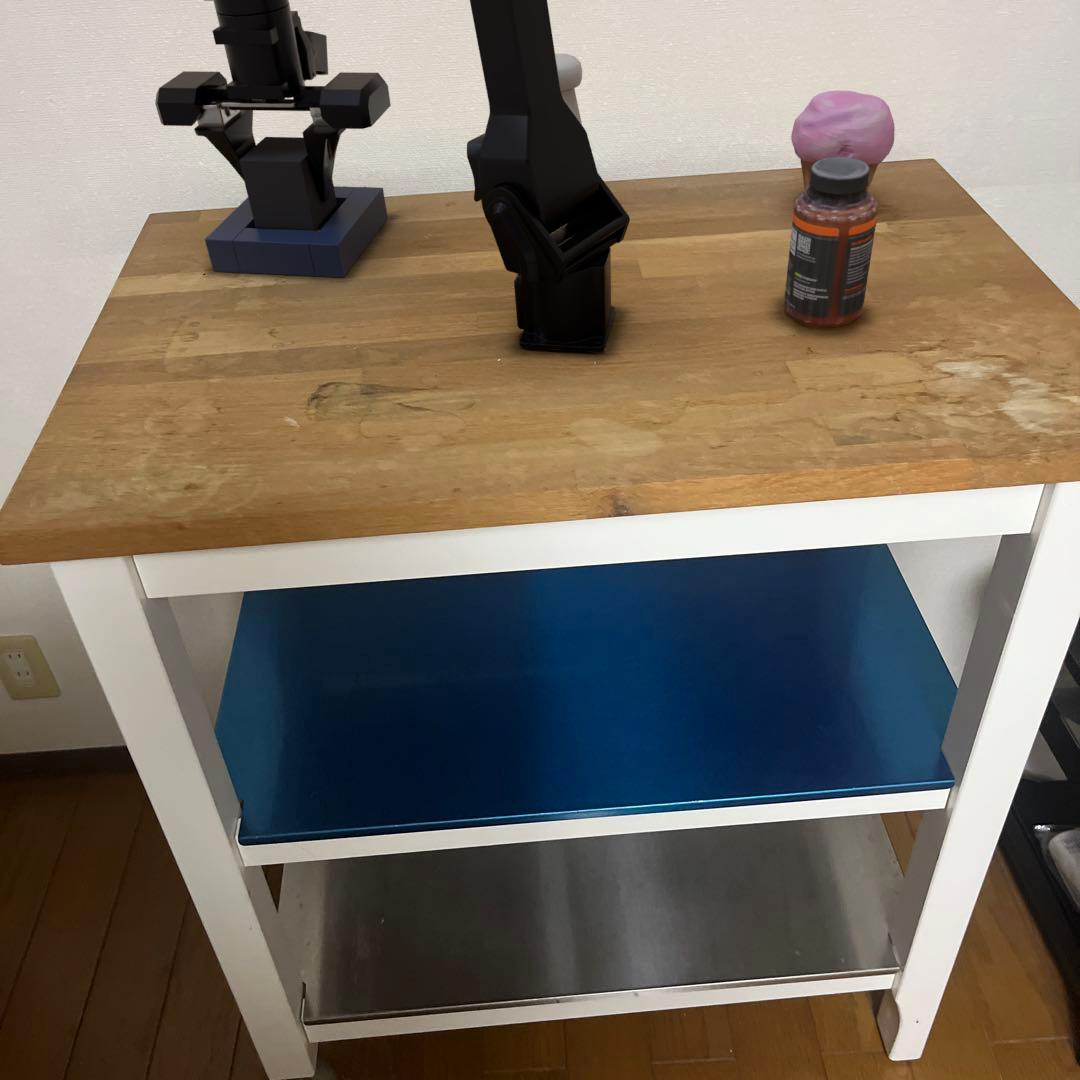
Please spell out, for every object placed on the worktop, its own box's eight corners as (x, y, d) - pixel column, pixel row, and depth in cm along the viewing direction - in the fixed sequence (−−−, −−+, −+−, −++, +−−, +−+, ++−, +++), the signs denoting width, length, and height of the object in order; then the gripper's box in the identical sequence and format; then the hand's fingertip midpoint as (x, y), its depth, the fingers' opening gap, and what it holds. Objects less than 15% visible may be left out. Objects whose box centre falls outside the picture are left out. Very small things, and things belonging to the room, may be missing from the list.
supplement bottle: (869, 300, 80) (893, 156, 73) (852, 336, 76) (877, 187, 69) (793, 288, 82) (809, 147, 75) (773, 323, 78) (788, 177, 71)
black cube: (337, 204, 94) (324, 137, 90) (315, 230, 89) (300, 161, 86) (280, 202, 95) (265, 136, 91) (255, 228, 90) (238, 160, 87)
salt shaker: (587, 216, 95) (583, 68, 87) (526, 214, 96) (517, 67, 88) (597, 191, 99) (594, 47, 91) (539, 189, 101) (531, 47, 92)
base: (387, 218, 97) (383, 187, 95) (343, 277, 88) (337, 244, 86) (268, 214, 100) (261, 183, 98) (213, 271, 91) (204, 239, 89)
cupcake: (780, 188, 98) (791, 77, 91) (874, 186, 97) (892, 74, 90) (789, 227, 91) (801, 111, 84) (890, 226, 90) (910, 109, 84)
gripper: (396, -20, 85) (421, 167, 95) (190, -18, 89) (235, 162, 99) (351, 17, 77) (383, 217, 87) (126, 17, 80) (182, 210, 91)
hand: (294, 199), depth 91 cm, fingers closed on black cube, 5 cm apart
